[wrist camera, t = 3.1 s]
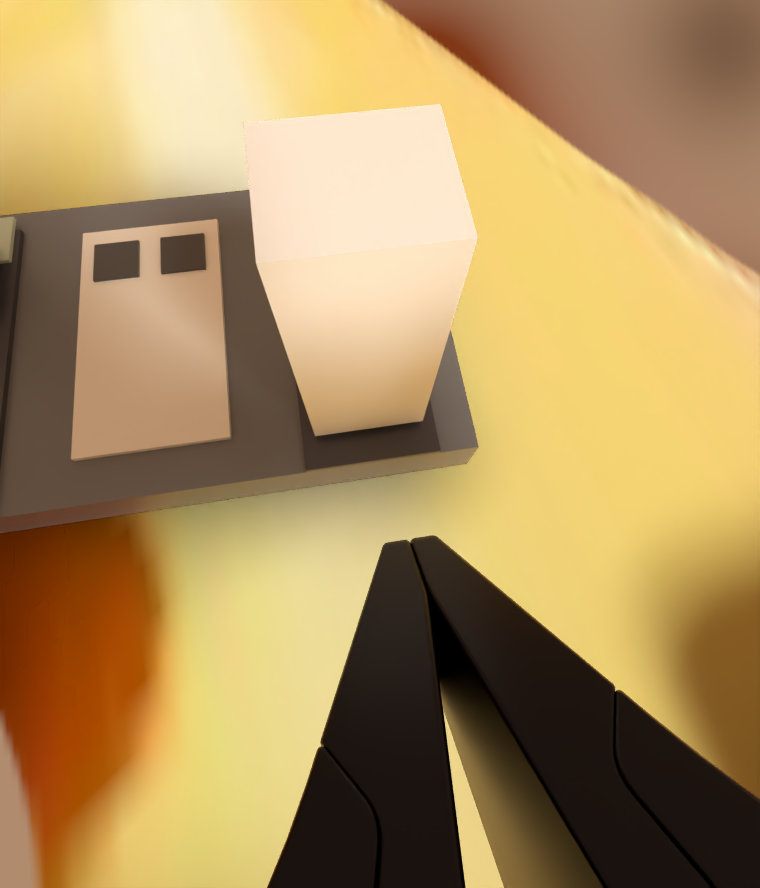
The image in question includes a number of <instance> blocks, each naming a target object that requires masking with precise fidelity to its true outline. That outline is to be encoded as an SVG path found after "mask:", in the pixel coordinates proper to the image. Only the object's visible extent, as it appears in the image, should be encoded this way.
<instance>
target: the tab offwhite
mask: <svg viewBox="0 0 760 888" xmlns="http://www.w3.org/2000/svg"><path fill="white" fill-rule="evenodd" d="M243 125H244V136H245V147H246V158H247V169H248V180H249V192H250V203H251V214H252V225H253V236H254V247H255V258H256V265H257V268H258V271H259V274H260V277H261V280H262V283H263V285H264V288H265V291H266V294H267V297H268V300H269V303H270V306H271V309H272V312H273V315H274V318H275V320H276V323H277V326H278V329H279V332H280V335H281V338H282V341H283V344H284V347H285V350H286V353H287V356H288V358H289V361H290V364H291V367H292V370H293V373H294V376H295V379H296V382H297V385H298V388H299V391H300V393H301V396H302V399H303V402H304V405H305V408H306V411H307V414H308V417H309V420H310V423H311V426H312V428H313V431H314V434H315V436H321V435H328V434H335V433H342V432H349V431H356V430H363V429H370V428H377V427H384V426H391V425H398V424H405V423H412V422H419V421H423V418H424V415H425V412H426V408H427V405H428V402H429V398H430V395H431V392H432V388H433V385H434V382H435V379H436V375H437V372H438V369H439V365H440V362H441V359H442V355H443V352H444V349H445V345H446V342H447V339H448V336H449V332H450V329H451V326H452V322H453V319H454V316H455V312H456V309H457V306H458V302H459V299H460V296H461V293H462V289H463V286H464V283H465V279H466V276H467V273H468V269H469V266H470V263H471V259H472V256H473V253H474V250H475V246H476V243H477V240H478V237H477V233H476V229H475V226H474V222H473V219H472V215H471V212H470V208H469V204H468V201H467V197H466V194H465V190H464V187H463V183H462V179H461V176H460V172H459V169H458V165H457V161H456V158H455V154H454V151H453V147H452V144H451V140H450V136H449V133H448V129H447V126H446V122H445V118H444V115H443V111H442V108H441V104H436V105H425V106H415V107H404V108H393V109H382V110H372V111H361V112H350V113H339V114H329V115H318V116H307V117H297V118H286V119H275V120H264V121H254V122H243Z"/></svg>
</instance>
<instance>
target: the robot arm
mask: <svg viewBox="0 0 760 888" xmlns="http://www.w3.org/2000/svg"><path fill="white" fill-rule="evenodd" d="M443 709H444V712H445V715H446V718H447V721H448V724H449V727H450V730H451V733H452V736H453V739H454V742H455V745H456V747H457V750H458V753H459V756H460V759H461V762H462V765H463V768H464V771H465V774H466V777H467V780H468V783H469V786H470V789H471V791H472V794H473V797H474V800H475V803H476V806H477V809H478V812H479V815H480V818H481V821H482V824H483V827H484V830H485V833H486V835H487V838H488V841H489V844H490V847H491V850H492V853H493V856H494V859H495V862H496V865H497V868H498V871H499V874H500V877H501V879H502V882H503V885H504V888H760V799H759V798H758V797H757V796H755V795H754V794H752V793H751V792H750V791H748V790H747V789H746V788H744V787H743V786H742V785H740V784H739V783H738V782H736V781H735V780H734V779H732V778H731V777H730V776H728V775H727V774H726V773H724V772H723V771H721V770H720V769H719V768H717V767H716V766H715V765H713V764H712V763H711V762H709V761H708V760H707V759H705V758H704V757H703V756H701V755H700V754H699V753H697V752H696V751H695V750H694V749H692V748H691V747H690V746H689V745H687V744H686V743H685V742H684V741H682V740H681V739H680V738H679V737H677V736H676V735H675V734H674V733H672V732H671V731H670V730H669V729H667V728H666V727H665V726H664V725H662V724H661V723H660V722H659V721H657V720H656V719H655V718H654V717H652V716H651V715H650V714H649V713H648V712H646V711H645V710H644V709H643V708H642V707H640V706H639V705H638V704H637V703H636V702H634V701H633V700H632V699H631V698H630V697H628V696H627V695H626V694H625V693H624V692H622V691H621V690H617V691H616V692H615V686H614V684H613V683H611V682H610V681H609V680H608V679H607V678H605V677H604V676H603V675H602V674H601V673H599V672H598V671H597V670H596V669H595V668H593V667H592V666H591V665H590V664H589V663H587V662H586V661H585V660H584V659H583V658H581V657H580V656H579V655H578V654H577V653H575V652H574V651H573V650H572V649H571V648H569V647H568V646H567V645H566V644H565V643H564V642H562V641H561V640H560V639H559V638H558V637H556V636H555V635H554V634H553V633H552V632H550V631H549V630H548V629H547V628H546V627H544V626H543V625H542V624H541V623H540V622H538V621H537V620H536V619H535V618H534V617H532V616H531V615H530V614H529V613H528V612H526V611H525V610H524V609H523V608H522V607H521V606H519V605H518V604H517V603H516V602H515V601H513V600H512V599H511V598H510V597H509V596H507V595H506V594H505V593H504V592H503V591H501V590H500V589H499V588H498V587H497V586H495V585H494V584H493V583H492V582H491V581H489V580H488V579H487V578H486V577H485V576H483V575H482V574H481V573H480V572H479V571H477V570H476V569H475V568H474V567H473V566H472V565H470V564H469V563H468V562H467V561H466V560H464V559H463V558H462V557H461V556H460V555H458V554H457V553H456V552H455V551H454V550H452V549H451V548H450V547H449V546H448V545H446V544H445V543H444V542H443V541H442V540H440V539H439V538H438V537H436V536H426V537H419V538H414V539H412V540H411V542H409V541H407V540H401V541H394V542H388V543H385V544H384V545H383V547H382V550H381V553H380V556H379V560H378V563H377V566H376V569H375V572H374V575H373V578H372V581H371V585H370V588H369V591H368V594H367V597H366V600H365V603H364V606H363V610H362V613H361V616H360V619H359V622H358V625H357V628H356V631H355V635H354V638H353V641H352V644H351V647H350V650H349V653H348V656H347V660H346V663H345V666H344V669H343V672H342V675H341V678H340V681H339V685H338V688H337V691H336V694H335V697H334V700H333V703H332V706H331V710H330V713H329V716H328V719H327V722H326V725H325V728H324V731H323V735H322V738H321V746H322V747H319V748H318V749H317V752H316V755H315V758H314V762H313V765H312V768H311V771H310V774H309V777H308V780H307V783H306V786H305V789H304V792H303V795H302V798H301V800H300V803H299V806H298V809H297V812H296V815H295V817H294V820H293V823H292V826H291V829H290V832H289V834H288V837H287V840H286V842H285V845H284V847H283V850H282V852H281V855H280V857H279V860H278V862H277V865H276V867H275V869H274V872H273V874H272V877H271V879H270V882H269V884H268V887H267V888H465V880H464V872H463V864H462V856H461V848H460V840H459V833H458V825H457V817H456V809H455V801H454V793H453V785H452V777H451V769H450V761H449V753H448V745H447V737H446V729H445V721H444V713H443Z"/></svg>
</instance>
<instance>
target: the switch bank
mask: <svg viewBox="0 0 760 888" xmlns="http://www.w3.org/2000/svg"><path fill="white" fill-rule="evenodd" d="M477 448H478V443H477V439H476V434H475V430H474V426H473V422H472V418H471V413H470V409H469V405H468V401H467V397H466V392H465V388H464V384H463V380H462V376H461V371H460V367H459V363H458V359H457V355H456V350H455V346H454V342H453V338H452V334H451V329H450V332H449V336H448V339H447V342H446V345H445V349H444V352H443V355H442V359H441V362H440V365H439V369H438V372H437V375H436V379H435V382H434V385H433V388H432V392H431V395H430V398H429V402H428V405H427V408H426V412H425V415H424V418H423V421H419V422H412V423H405V424H398V425H391V426H384V427H377V428H370V429H363V430H356V431H349V432H342V433H335V434H328V435H321V436H315V434H314V431H313V428H312V426H311V423H310V420H309V417H308V414H307V411H306V408H305V405H304V402H303V399H302V396H301V393H300V391H299V388H298V385H297V382H296V379H295V376H294V373H293V370H292V367H291V364H290V361H289V358H288V356H287V353H286V350H285V347H284V344H283V341H282V338H281V335H280V332H279V329H278V326H277V323H276V320H275V318H274V315H273V312H272V309H271V306H270V303H269V300H268V297H267V294H266V291H265V288H264V285H263V283H262V280H261V277H260V274H259V271H258V268H257V265H256V258H255V247H254V236H253V225H252V214H251V203H250V192H249V190H244V191H235V192H225V193H215V194H206V195H196V196H186V197H177V198H167V199H157V200H148V201H138V202H128V203H119V204H109V205H99V206H90V207H80V208H70V209H61V210H51V211H41V212H32V213H22V214H13V215H3V216H0V533H6V532H12V531H19V530H26V529H32V528H39V527H46V526H52V525H59V524H66V523H73V522H79V521H86V520H93V519H99V518H106V517H113V516H119V515H126V514H133V513H139V512H146V511H153V510H159V509H166V508H173V507H179V506H186V505H193V504H200V503H206V502H213V501H220V500H226V499H233V498H240V497H246V496H253V495H260V494H266V493H273V492H280V491H286V490H293V489H300V488H306V487H313V486H320V485H327V484H333V483H340V482H347V481H353V480H360V479H367V478H373V477H380V476H387V475H393V474H400V473H407V472H413V471H420V470H427V469H433V468H440V467H447V466H454V465H460V464H466V463H467V462H468V461H469V459H470V458H471V457H472V455H473V454H474V452H475V451H476V450H477Z"/></svg>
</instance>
